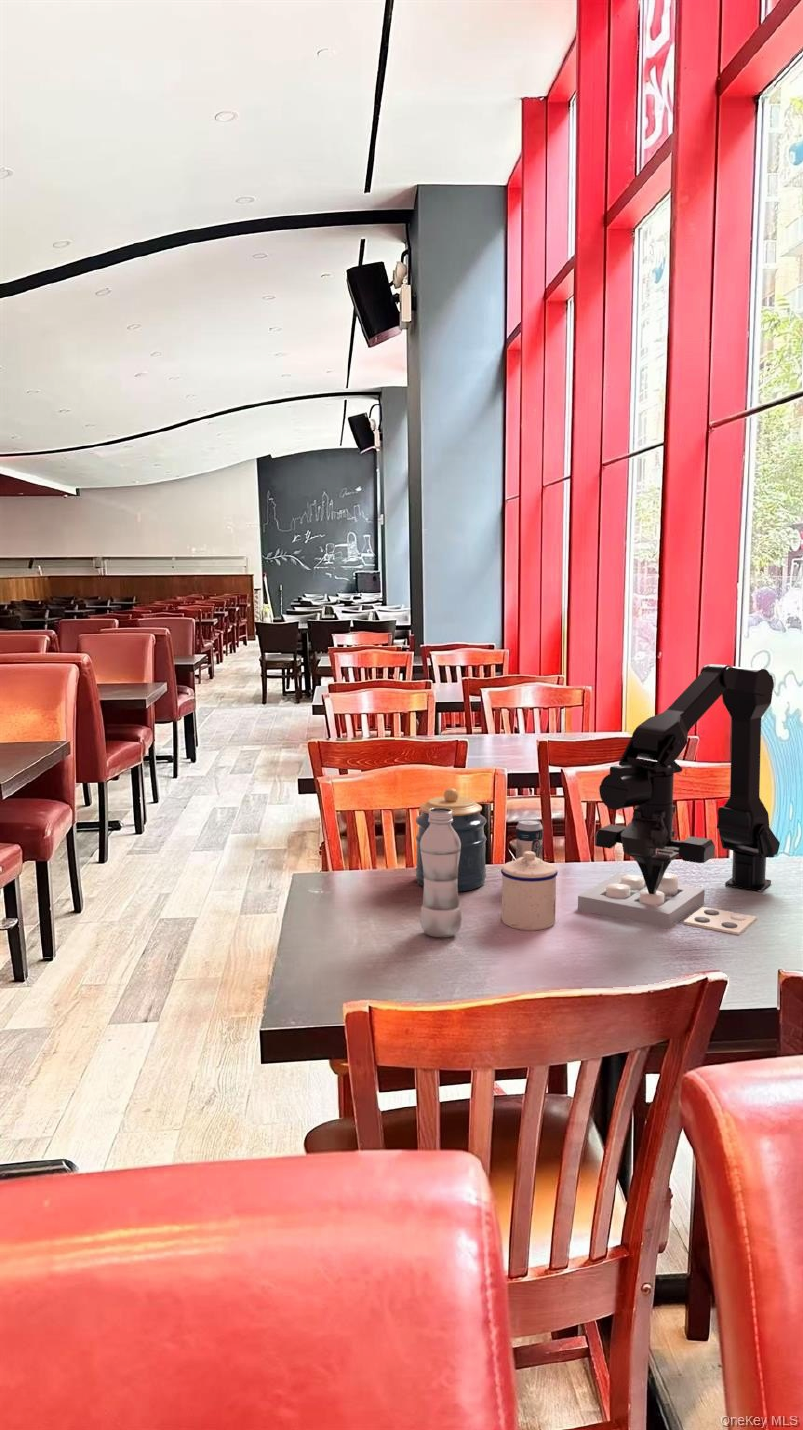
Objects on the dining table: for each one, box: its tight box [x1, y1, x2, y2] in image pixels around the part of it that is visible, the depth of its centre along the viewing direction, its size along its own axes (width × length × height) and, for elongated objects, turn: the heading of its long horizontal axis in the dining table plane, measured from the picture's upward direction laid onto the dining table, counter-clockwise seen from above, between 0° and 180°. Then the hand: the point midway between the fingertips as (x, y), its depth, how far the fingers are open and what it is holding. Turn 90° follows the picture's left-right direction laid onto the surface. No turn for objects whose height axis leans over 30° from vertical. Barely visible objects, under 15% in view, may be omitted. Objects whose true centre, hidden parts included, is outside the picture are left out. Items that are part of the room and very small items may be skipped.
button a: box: [621, 874, 644, 891], centre depth 173 cm, size 4×4×3 cm
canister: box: [415, 787, 487, 892], centre depth 182 cm, size 13×13×18 cm
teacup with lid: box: [500, 851, 559, 931], centre depth 162 cm, size 12×9×12 cm
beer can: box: [515, 819, 544, 860], centre depth 180 cm, size 5×5×12 cm
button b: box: [657, 872, 679, 897], centre depth 170 cm, size 4×4×3 cm
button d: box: [639, 890, 665, 906], centre depth 165 cm, size 4×4×3 cm
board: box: [577, 873, 706, 929], centre depth 169 cm, size 16×16×2 cm
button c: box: [606, 883, 630, 899], centre depth 168 cm, size 4×4×3 cm
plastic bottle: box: [419, 808, 463, 938], centre depth 155 cm, size 6×7×20 cm
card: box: [682, 906, 758, 936], centre depth 161 cm, size 9×9×1 cm
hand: (652, 893), depth 165 cm, fingers closed, pressing on button d
